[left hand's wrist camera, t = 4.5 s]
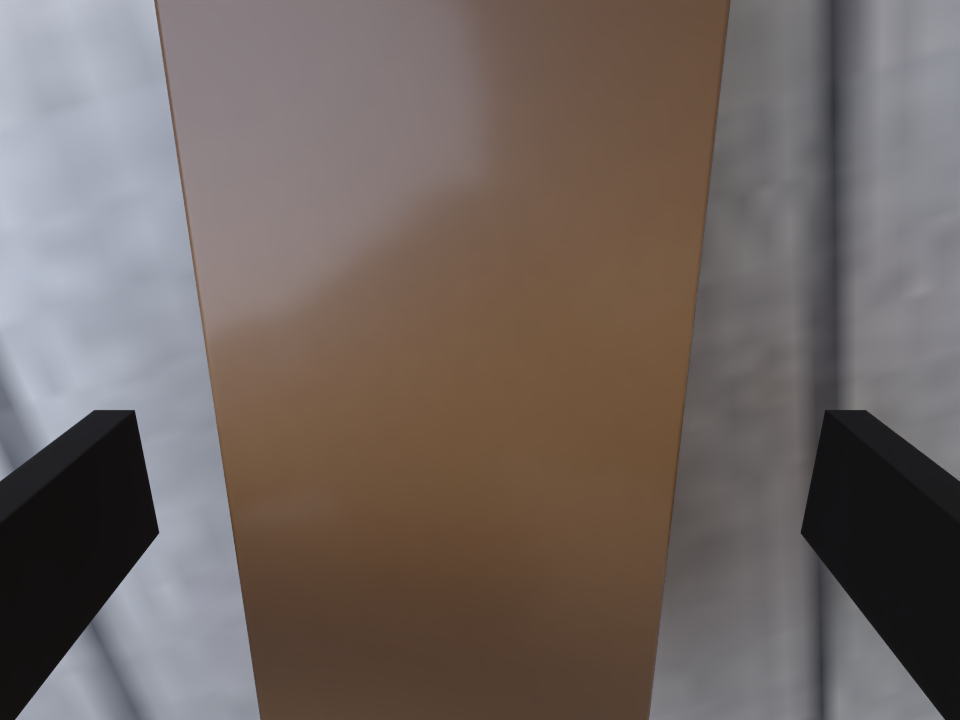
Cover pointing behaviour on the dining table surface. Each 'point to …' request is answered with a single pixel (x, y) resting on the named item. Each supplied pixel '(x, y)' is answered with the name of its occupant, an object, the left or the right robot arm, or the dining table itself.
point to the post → (448, 336)
